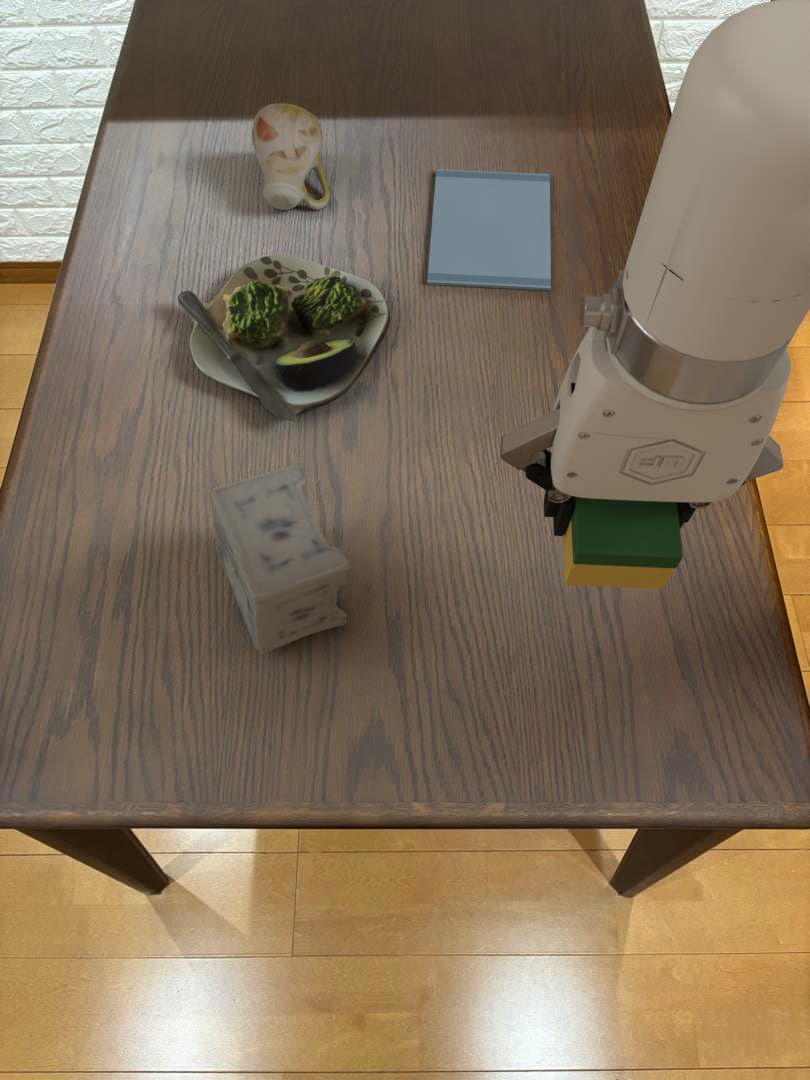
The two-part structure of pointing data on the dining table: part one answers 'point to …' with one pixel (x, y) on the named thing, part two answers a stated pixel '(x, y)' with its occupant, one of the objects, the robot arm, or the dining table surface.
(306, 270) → the salad plate
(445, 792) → the dining table surface
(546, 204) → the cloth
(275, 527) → the incense holder
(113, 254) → the dining table surface
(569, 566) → the scrubber
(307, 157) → the mug
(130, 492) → the dining table surface
